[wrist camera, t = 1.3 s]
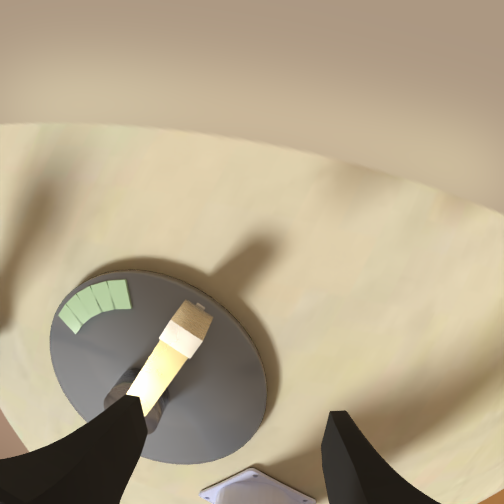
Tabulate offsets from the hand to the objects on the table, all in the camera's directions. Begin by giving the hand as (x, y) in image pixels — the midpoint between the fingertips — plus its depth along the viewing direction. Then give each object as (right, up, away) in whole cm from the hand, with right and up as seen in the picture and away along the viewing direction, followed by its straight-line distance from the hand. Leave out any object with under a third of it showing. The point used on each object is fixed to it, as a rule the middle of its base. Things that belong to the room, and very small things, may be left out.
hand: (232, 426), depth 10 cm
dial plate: (-7, -3, +12) cm, 14 cm away
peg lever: (-5, -1, +10) cm, 11 cm away
